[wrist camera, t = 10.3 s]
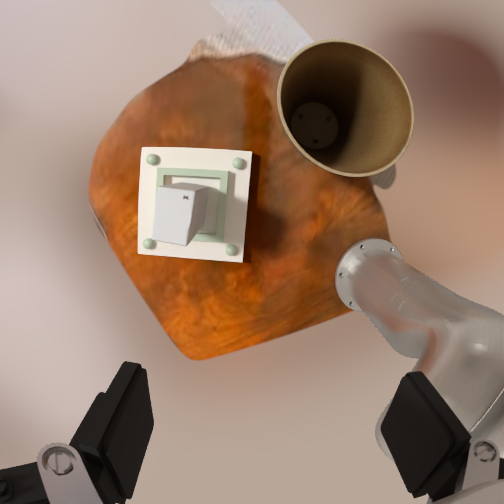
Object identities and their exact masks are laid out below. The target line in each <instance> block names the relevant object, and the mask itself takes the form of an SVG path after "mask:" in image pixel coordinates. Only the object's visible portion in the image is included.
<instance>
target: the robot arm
mask: <svg viewBox="0 0 504 504" xmlns="http://www.w3.org/2000/svg"><path fill="white" fill-rule="evenodd" d="M361 245H362V247H360V246H361ZM390 249H391V250H390ZM340 273H341V275H339V274H340ZM335 287H336V291H337V293H338V295H339V297H340V299H341V300H342V301H343V303H344V304H345V305H346V306H348V307H349V308H351V309H353V310H355V311H359V312H364V313H365V314H366V316H367V317H368V318H369V319H370V321H371V322H372V323H373V324H374V326H375V327H376V328H377V329H378V330H379V332H380V333H381V334H382V336H383V337H384V338H385V339H386V341H387V342H388V343H389V344H390V345H391V347H392V348H393V349H394V350H395V351H396V352H398V353H399V354H401V355H404V356H407V357H410V358H419V360H418V362H417V363H416V365H415V367H414V368H413V369H412V372H409V373H407V374H406V375H405V376H404V377H403V378H402V379H401V381H400V384H399V386H398V389H397V391H396V393H395V396H394V397H393V399H392V400H391V401H390V403H389V404H388V405H387V407H386V408H385V410H384V411H383V412H382V414H381V415H380V417H379V419H378V421H377V424H376V428H375V436H376V440H377V443H378V445H379V447H380V448H381V450H382V451H383V452H384V453H385V455H386V456H388V457H389V458H390V459H391V460H392V461H393V462H395V464H396V466H397V468H398V470H399V472H400V475H401V477H402V479H403V481H404V484H405V486H406V488H407V490H408V492H410V493H412V495H413V497H414V498H417V497H420V496H423V495H426V494H427V493H428V495H429V498H428V502H427V504H504V391H503V393H502V394H501V395H500V397H499V398H498V400H497V401H496V402H495V404H494V405H493V406H492V408H491V409H490V410H489V412H488V413H487V414H486V415H485V417H484V418H483V419H482V420H481V422H480V423H479V424H478V425H477V427H476V428H475V429H474V430H473V431H472V432H470V431H471V429H472V428H473V427H474V426H475V424H476V423H477V422H478V421H479V420H480V419H481V418H482V417H483V416H484V414H485V413H486V411H487V410H488V408H490V406H491V405H492V404H493V402H494V401H495V399H496V398H497V397H498V395H499V394H500V392H501V391H502V390H503V388H504V316H503V315H502V314H501V313H498V312H497V311H495V310H493V309H490V308H488V307H485V306H483V305H480V304H477V303H475V302H472V301H470V300H468V299H466V298H463V297H461V296H459V295H457V294H456V293H454V292H452V291H450V290H449V289H447V288H445V287H444V286H442V285H440V284H439V283H437V282H436V281H434V280H432V279H431V278H429V277H428V276H426V275H424V274H423V273H421V272H420V271H418V270H416V269H415V268H413V267H411V266H410V265H408V264H407V263H405V262H404V261H403V257H402V255H401V253H400V251H399V250H398V249H397V248H396V247H395V246H394V245H393V244H392V243H390V242H388V241H386V240H383V239H381V238H367V239H364V240H361V241H359V242H357V243H355V244H354V245H352V246H351V247H350V248H349V249H348V250H347V251H346V252H345V253H344V254H343V256H342V257H341V259H340V261H339V263H338V266H337V268H336V273H335ZM350 302H351V303H350ZM153 426H154V419H153V413H152V407H151V401H150V394H149V387H148V379H147V372H146V369H143V368H142V367H141V364H138V363H133V362H127V361H125V362H124V363H123V364H122V366H121V367H120V369H119V371H118V372H117V374H116V376H115V378H114V379H113V381H112V383H111V385H110V386H109V388H108V390H107V391H106V393H103V392H100V393H99V394H98V395H97V396H96V398H95V400H94V402H93V403H92V405H91V407H90V408H89V410H88V412H87V414H86V415H85V417H84V419H83V421H82V422H81V424H80V426H79V427H78V429H77V431H76V433H75V435H74V436H73V438H72V440H71V442H70V444H69V445H67V444H63V443H52V444H49V445H46V446H45V447H43V448H42V449H41V450H40V452H39V453H38V456H37V462H34V463H29V464H25V465H21V466H16V467H11V468H7V469H1V470H0V504H115V503H119V504H125V501H126V498H127V499H131V498H132V495H133V492H134V488H135V485H136V482H137V478H138V475H139V472H140V469H141V465H142V462H143V459H144V456H145V452H146V449H147V446H148V443H149V440H150V436H151V433H152V430H153ZM469 432H470V433H469Z"/></svg>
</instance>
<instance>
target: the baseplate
mask: <svg viewBox="0 0 504 504" xmlns="http://www.w3.org/2000/svg"><path fill="white" fill-rule="evenodd" d="M251 158H252V152H250V151H237V150H223V149H205V148H177V147H142V153H141V166H140V182H139V206H138V254H147V255H158V256H170V257H182V258H194V259H206V260H218V261H231V262H243V251H244V239H245V227H246V215H247V203H248V192H249V181H250V169H251ZM180 182H185V183H192V184H199V185H205V186H209V187H210V188H209V193H208V199H207V205H206V211H205V218H204V224H203V227H202V228H201V229H200V230H199V232H198V233H197V234H196V235H195V237H194V238H193V239H192V240H191V242H190V243H189V244H188V245H187V246H180V245H175V244H170V243H165V242H160V241H155V240H152V232H153V222H154V212H155V203H156V196H157V189H158V187H159V186H163V185H168V184H174V183H180Z"/></svg>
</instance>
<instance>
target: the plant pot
mask: <svg viewBox="0 0 504 504" xmlns="http://www.w3.org/2000/svg"><path fill="white" fill-rule="evenodd" d="M277 109H278V116H279V121H280V124H281V127H282V130H283V132H284V134H285V136H286V138H287V139H288V141H289V142H290V144H291V145H292V146H293V147H294V148H295V149H296V150H297V152H299V153H300V154H301V155H302V156H303V157H305V158H306V159H307V160H309V161H310V162H312V163H314V164H315V165H317V166H319V167H321V168H323V169H325V170H327V171H330V172H332V173H335V174H338V175H343V176H349V177H365V176H370V175H374V174H377V173H380V172H382V171H384V170H386V169H388V168H389V167H391V166H392V165H393V164H394V163H396V161H398V159H399V158H400V157H401V156H402V155H403V153H404V152H405V150H406V148H407V146H408V144H409V142H410V139H411V136H412V132H413V126H414V110H413V104H412V100H411V97H410V94H409V91H408V88H407V86H406V84H405V82H404V81H403V79H402V77H401V76H400V74H399V73H398V72H397V70H396V69H395V68H394V67H393V66H392V65H391V64H390V63H389V61H387V60H386V59H385V58H384V57H383V56H381V55H380V54H379V53H377V52H375V51H374V50H372V49H370V48H368V47H366V46H364V45H362V44H359V43H355V42H352V41H347V40H339V39H338V40H337V39H331V40H322V41H318V42H315V43H312V44H309V45H307V46H306V47H304V48H302V49H301V50H299V51H298V52H297V53H295V54H294V55H293V56H292V57H291V59H290V60H289V61H288V63H287V64H286V65H285V67H284V69H283V71H282V74H281V76H280V79H279V83H278V89H277ZM299 116H301V117H302V118H299ZM327 117H329V119H327ZM315 140H317V143H315Z"/></svg>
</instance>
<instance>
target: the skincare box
mask: <svg viewBox="0 0 504 504" xmlns="http://www.w3.org/2000/svg"><path fill="white" fill-rule="evenodd" d="M209 188H210V187H209V186H205V185H199V184H192V183H185V182H180V183H174V184H168V185H163V186H159V187H158V189H157V196H156V203H155V212H154V222H153V232H152V240H155V241H160V242H165V243H170V244H175V245H180V246H187V245H188V244H189V243H190V242H191V240H192V239H193V238H194V237H195V235H196V234H197V233H198V232H199V230H200V229H201V228H202V227H203V224H204V218H205V211H206V205H207V199H208V193H209Z"/></svg>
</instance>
